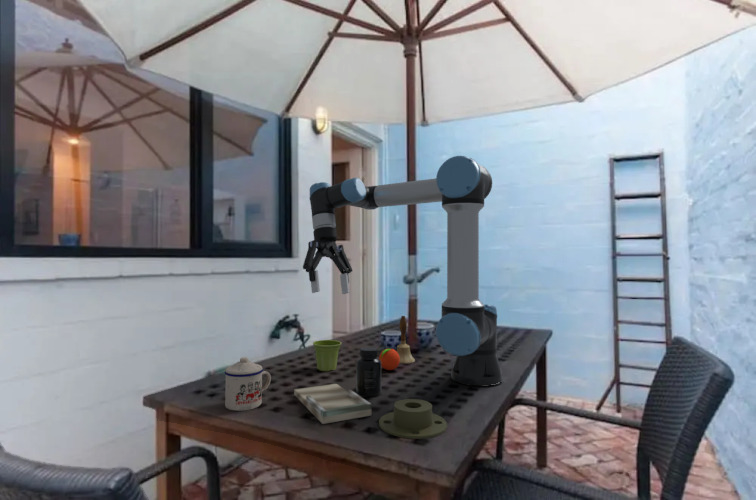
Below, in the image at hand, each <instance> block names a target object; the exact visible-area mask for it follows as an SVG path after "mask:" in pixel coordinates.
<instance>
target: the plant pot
mask: <svg viewBox="0 0 756 500" xmlns="http://www.w3.org/2000/svg"><path fill="white" fill-rule="evenodd" d="M312 345H313V346H314V350H315V359H316V369H317V370H319V371H320V372H330V371H335V370H336V369H337V366H338V365H337V364H338V357H339V350H340V348H341V345H342V342H341V341H340V340H334V339H320V340H315V341H312Z"/></svg>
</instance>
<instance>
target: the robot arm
mask: <svg viewBox="0 0 756 500" xmlns="http://www.w3.org/2000/svg"><path fill="white" fill-rule="evenodd" d="M436 173H437V174H436V177H434V178H428V179H419V180H413V181H403V182H396V183H394V182H393V183H388V184H386V183H385V184H378V185H371V186H369V185H368V186H365V184H364V182H363V181H362V180H361V179H360V178H359V177H353V178H349V179H345V180H344V181H340V182H338V183H336V184H333V185H331V184H330V183H328V182H326V181H325V182H324V181H322V182H320V181H319V182H316V183H314V184H312V185H311V186H310V187H309V205H310V209H311V218H312V219H311V220H312V222H311V223H312V229H313V240H310V241H309V242H308V243H307V244H308V248H307V251H306V255H305V257H304V261H303V265H302V269H303V270H305V272H306V273H308V277H309V279H308V280H309V282H310V288H311V293H312V294H316V293H318V292H320V291H321V289H320V279H319V278H320V277H319V271H318V270H317V267H318V266H319V264H320V262H321V261H322V258H324V257H325V258H329V259H330V260H332V262H333V263H334V264H335V267H336V268H337V269H338V271H339V272H340V273H341V274H340V275H339V278H340V279H339V280H340V285H341V286H340V288H341V295H346V294H349V293H350V285H349V283H350V276H349V274H351V272H353V268H352V265H351V264H350V262H349V259H348V257H347V254H346V252H345V248H344V245H343V244H339V245H337V243H336V241H337V239H338V234H337V229H336V227H337V223H336V218H335V217H336V216H335V210H336V209H339V208H342V207H347V206H350V207H355V208H359V209H360V208H361V209H365V210H376V209H378V208H384V207H395V206H396V207H397V206H409V205H418V204H419V205H421V204H431V203H441V208H442V209H443V210H444V211H445V212H446V213H447V214H446V215H447V216H446V218H447V219H446V220H447V221H446V223H447V224H446V225H447V227H446V229H447V230H446V231H447V232H446V235H447V236H446V237H447V238H446V241H447V242H446V254H447V255H446V256H447V257H446V258H447V259H446V261H447V263H446V265H447V266H446V267H447V268H446V272H447V273H446V276H447V278H446V279H447V281H446V283H447V285H446V292H447V294H446V299H445V300H444V301H442V303H441V317H440V319H439V320H438V322H437V324H436V327H435V328H436V329H435V335H436V340H437V342H438V344H439V345H440V347H441V348H442V349H443V350H444V351H445V352H447V353H448V354H451V355H453V356H455V360H454V362H453V365H452V368H451V370H450V371H451V375H450V377H451V380H452V381H454V382H456V383H459V384H462V383H463V384H462V385H466V384H469V385H468V386H472V385H491V384H496V383H498V382H501V381H502V382H503V372H502V368H501V364H500V363H499V362H500V361H499V360H498V356H497V348H498V347H497V343H498V341H497V335H498V330H497V329H498V327H497V325H498V324H497V323H498V314H497V307H496V306H495V305H494V304H485V303H483V302H482V301H481V299H480V298H479V295H480V294H479V288H480V287H479V285H480V284H479V279H480V278H479V271H480V270H479V265H480V264H479V258H480V257H479V252H480V250H479V239H480V238H479V237H480V236H479V223H480V222H479V220H480V218H479V216H480V215H479V213H480V212H481V210H482V209H483V208H484V207H485V199H486V198H487V197H488V196H489V194H490V193H491V191H492V188H493V178H492V176H491V173H490V172H489V170H488V169H487V168H486V167H485V166H484V165H481V164H479V163H478V162H477V161H476V160H475V159H473V158H471V157H468V156H465V155H455V156H451V157H450V158H448V159H446V160H445V161H444V162H443V163H442V164H441V165H440V167H439V168H438V170H437V172H436Z"/></svg>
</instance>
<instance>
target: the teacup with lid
mask: <svg viewBox="0 0 756 500" xmlns="http://www.w3.org/2000/svg"><path fill="white" fill-rule="evenodd" d="M224 375H225V388H224V389H225V390H224V391H225V392H224V393H225V395H224V402H225V403H224V406H225V408H226V409H227V410H230V411H237V412H238V411H240V412H241V411H249V410H250V411H251V410H254V409H256V408H258V407H260V406H261V405H262V404H263V403H262V399H263V398H262V396H263V395H262V394H263V392H264V391H266V390H267V389H268V387H269V385H270V384H271V379H272V375H271V373H270V372H268V371H265V370H264V368H263V366H262V365H260V364H259V363H254V362H253V361H251V360H250V361H249V357H247V356H244V357H240V359H239V361H237V362H236V363H234V364H231V365H230V366H228V367H226V368H225V371H224ZM263 375H266V381H265V383H264V385H263Z"/></svg>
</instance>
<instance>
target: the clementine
mask: <svg viewBox="0 0 756 500" xmlns="http://www.w3.org/2000/svg"><path fill="white" fill-rule="evenodd" d="M378 359H380V361H381V369H384V370H385V371H393V370H396V369H397V368H398V367H399V365H400V356H399V354H398V353H397V350H395V349H394V348H391V347H388V348H385V349H383V350H382V351H381V352H380V353H379V356H378Z"/></svg>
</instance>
